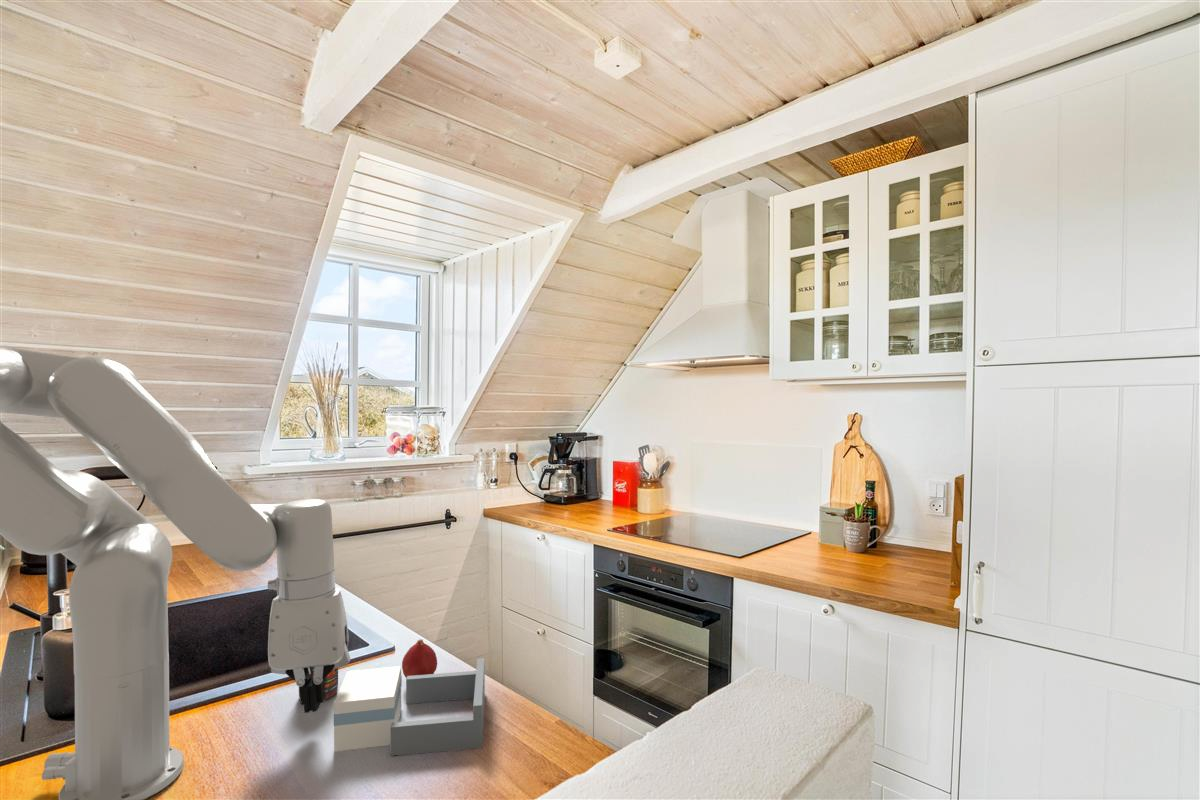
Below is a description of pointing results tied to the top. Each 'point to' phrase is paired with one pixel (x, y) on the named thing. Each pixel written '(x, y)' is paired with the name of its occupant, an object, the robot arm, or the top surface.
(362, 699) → the carton
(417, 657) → the onion
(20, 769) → the top surface
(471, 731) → the bay
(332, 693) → the supplement bottle
